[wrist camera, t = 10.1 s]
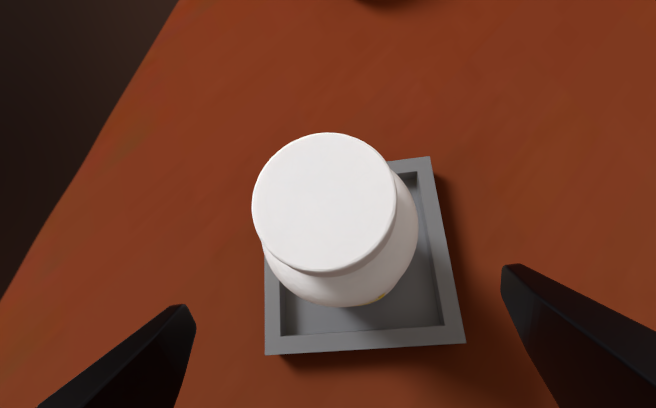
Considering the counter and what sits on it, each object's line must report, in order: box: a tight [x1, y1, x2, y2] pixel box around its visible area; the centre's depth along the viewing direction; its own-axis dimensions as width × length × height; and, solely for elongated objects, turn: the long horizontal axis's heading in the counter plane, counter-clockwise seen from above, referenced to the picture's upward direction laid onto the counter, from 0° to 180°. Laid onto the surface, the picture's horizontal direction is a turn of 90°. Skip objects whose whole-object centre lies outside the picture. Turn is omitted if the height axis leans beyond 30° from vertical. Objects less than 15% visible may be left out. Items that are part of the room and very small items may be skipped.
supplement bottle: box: [252, 133, 418, 307], centre depth 16 cm, size 7×7×13 cm
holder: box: [265, 156, 466, 355], centre depth 22 cm, size 12×12×2 cm
